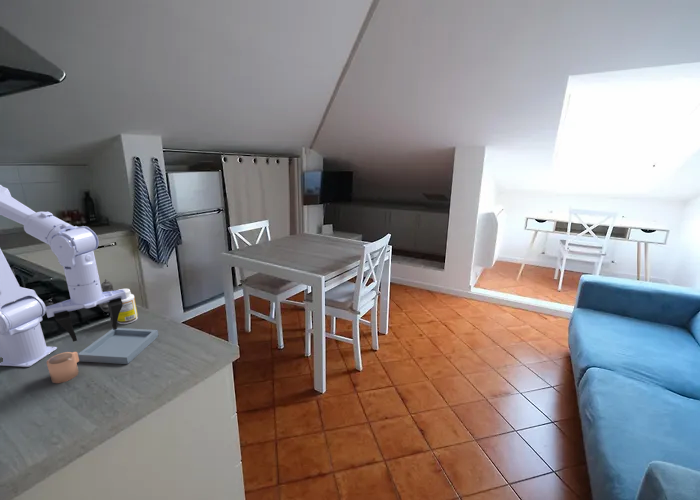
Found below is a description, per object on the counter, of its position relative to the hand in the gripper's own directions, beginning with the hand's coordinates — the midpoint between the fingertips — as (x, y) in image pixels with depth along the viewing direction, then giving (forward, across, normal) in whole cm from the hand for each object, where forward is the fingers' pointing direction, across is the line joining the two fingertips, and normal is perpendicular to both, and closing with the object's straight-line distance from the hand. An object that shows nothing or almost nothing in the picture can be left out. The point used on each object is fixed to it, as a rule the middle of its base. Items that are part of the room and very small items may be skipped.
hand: (95, 333), depth 78 cm
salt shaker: (+10, +8, +31) cm, 34 cm away
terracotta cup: (+10, -7, +3) cm, 13 cm away
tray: (+10, +5, +7) cm, 13 cm away
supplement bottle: (+10, +10, +23) cm, 27 cm away
